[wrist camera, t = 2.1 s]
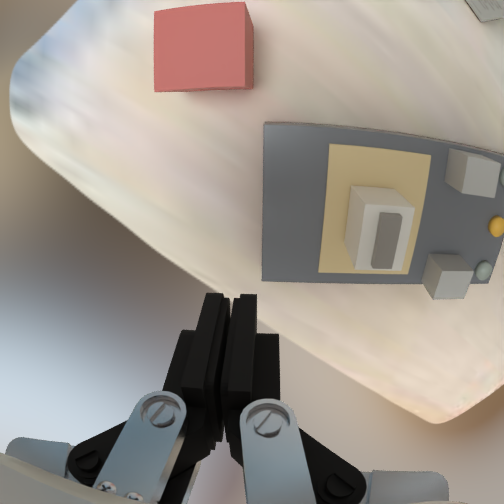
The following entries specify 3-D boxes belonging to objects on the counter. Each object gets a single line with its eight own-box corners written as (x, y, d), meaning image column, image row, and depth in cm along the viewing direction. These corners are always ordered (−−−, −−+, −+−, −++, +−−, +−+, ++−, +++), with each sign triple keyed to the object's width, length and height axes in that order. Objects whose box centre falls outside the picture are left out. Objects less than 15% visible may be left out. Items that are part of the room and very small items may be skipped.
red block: (253, 26, 17) (244, 1, 11) (253, 89, 19) (244, 86, 14) (185, 30, 17) (154, 11, 12) (186, 91, 19) (154, 92, 14)
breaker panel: (506, 155, 19) (540, 170, 15) (478, 271, 24) (501, 299, 20) (264, 121, 20) (261, 128, 16) (262, 267, 25) (260, 301, 21)
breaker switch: (394, 188, 19) (418, 211, 15) (385, 244, 21) (403, 275, 17) (350, 185, 19) (367, 207, 15) (344, 242, 21) (356, 274, 17)
